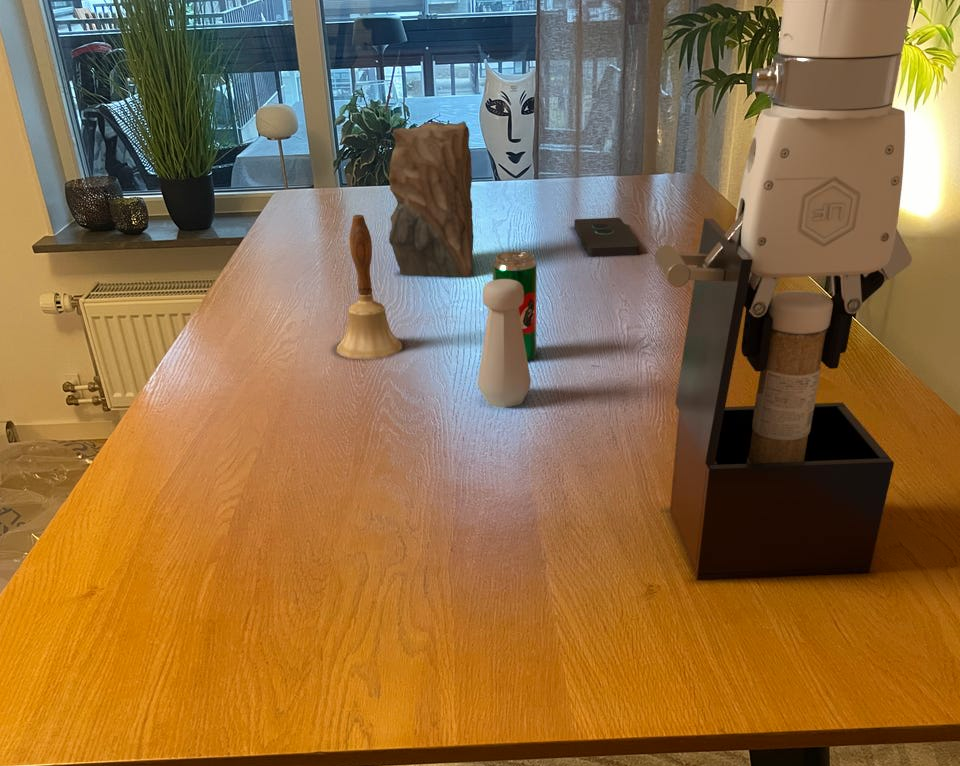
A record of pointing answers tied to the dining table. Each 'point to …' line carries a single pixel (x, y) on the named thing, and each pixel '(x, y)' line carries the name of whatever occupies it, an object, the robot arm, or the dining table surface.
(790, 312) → the sprinkles bottle
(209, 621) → the dining table surface
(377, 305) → the hand bell
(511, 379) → the salt shaker
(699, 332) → the lid
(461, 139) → the owl
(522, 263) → the soda can
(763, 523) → the box
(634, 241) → the smart home device
